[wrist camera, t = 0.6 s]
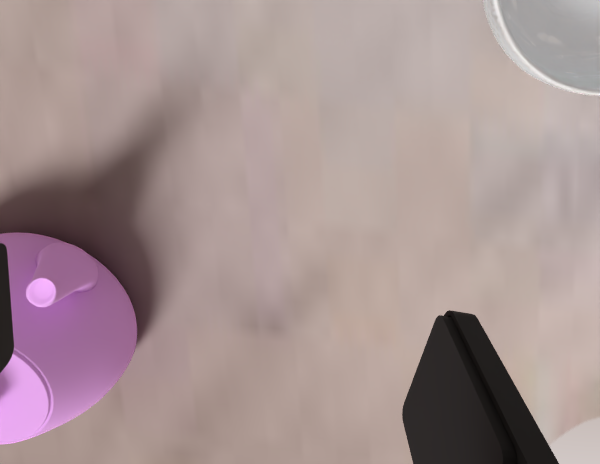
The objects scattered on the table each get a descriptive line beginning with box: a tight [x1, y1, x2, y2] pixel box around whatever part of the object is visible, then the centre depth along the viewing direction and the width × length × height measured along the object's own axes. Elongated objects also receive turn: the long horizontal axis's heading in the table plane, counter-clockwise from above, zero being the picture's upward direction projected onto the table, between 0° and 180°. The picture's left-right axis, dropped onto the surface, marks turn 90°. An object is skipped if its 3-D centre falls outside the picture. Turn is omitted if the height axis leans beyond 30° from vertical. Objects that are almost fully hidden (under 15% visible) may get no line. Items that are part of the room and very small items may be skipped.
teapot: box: [0, 232, 137, 444], centre depth 39 cm, size 25×18×14 cm
